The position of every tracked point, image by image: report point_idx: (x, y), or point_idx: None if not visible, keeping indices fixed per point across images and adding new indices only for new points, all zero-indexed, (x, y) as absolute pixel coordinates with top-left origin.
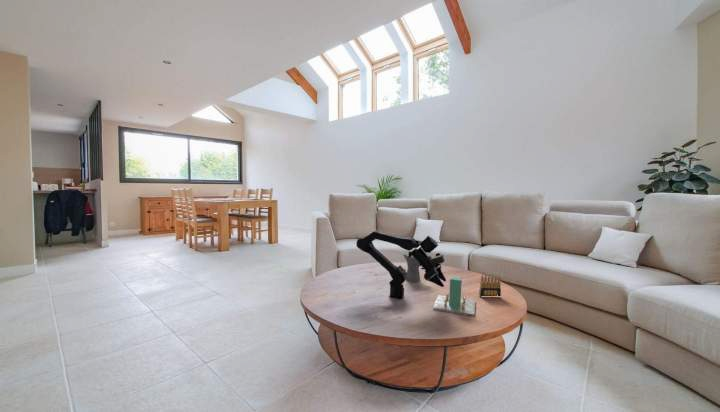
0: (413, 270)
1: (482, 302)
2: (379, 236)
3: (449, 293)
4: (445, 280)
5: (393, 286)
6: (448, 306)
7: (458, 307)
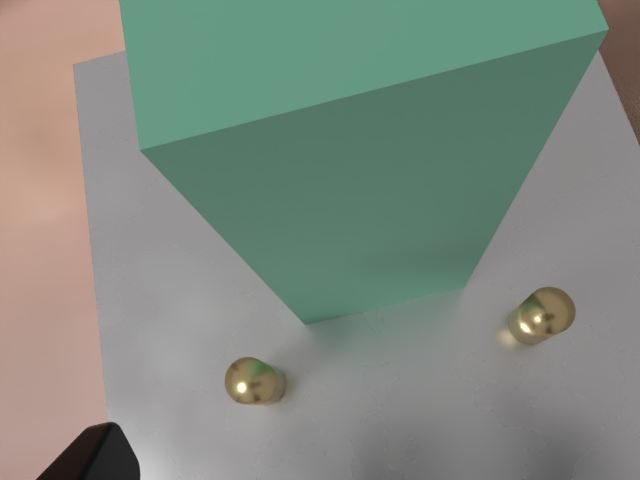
0: None
1: (48, 17)
2: None
3: (494, 233)
4: (122, 443)
5: None
6: (538, 270)
7: None
